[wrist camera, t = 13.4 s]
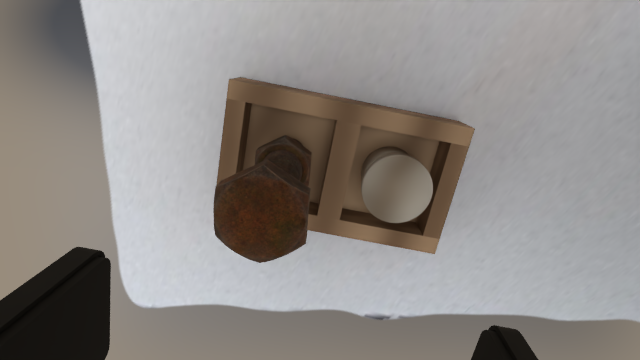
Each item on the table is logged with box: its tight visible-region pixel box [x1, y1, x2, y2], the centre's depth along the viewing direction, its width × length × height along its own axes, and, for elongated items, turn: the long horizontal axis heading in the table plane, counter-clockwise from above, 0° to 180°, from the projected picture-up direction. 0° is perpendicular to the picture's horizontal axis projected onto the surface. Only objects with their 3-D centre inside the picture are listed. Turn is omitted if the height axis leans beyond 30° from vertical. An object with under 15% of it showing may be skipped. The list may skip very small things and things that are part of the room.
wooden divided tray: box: [217, 77, 475, 254], centre depth 33 cm, size 20×12×6 cm, turn 79°
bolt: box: [214, 135, 312, 263], centre depth 27 cm, size 6×5×15 cm
